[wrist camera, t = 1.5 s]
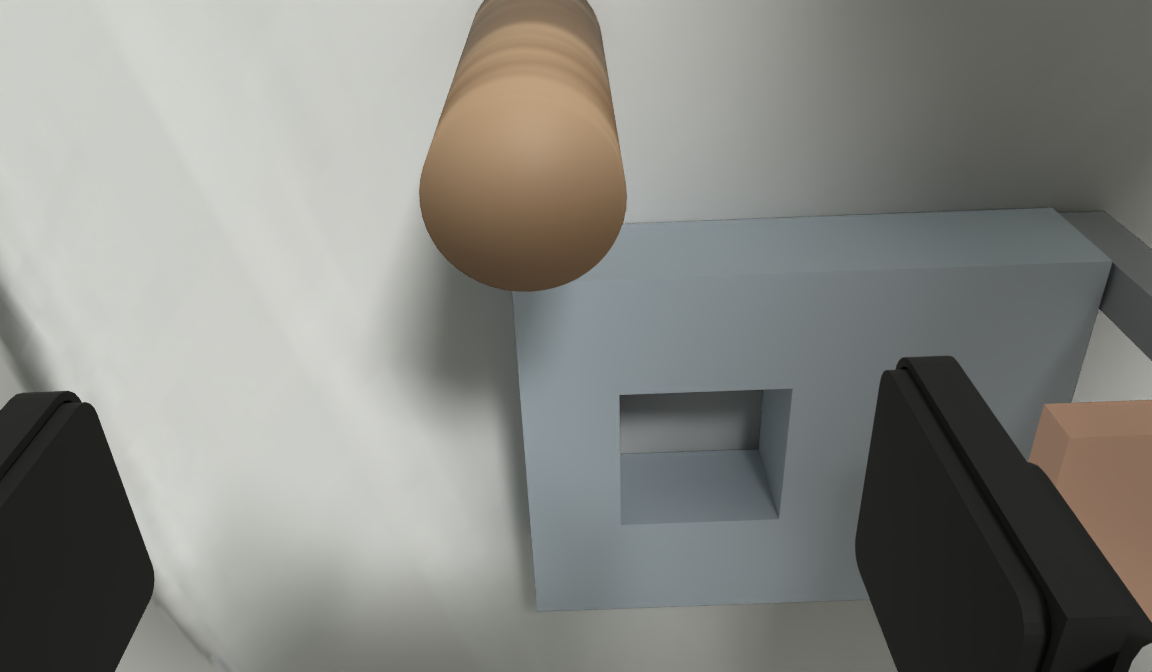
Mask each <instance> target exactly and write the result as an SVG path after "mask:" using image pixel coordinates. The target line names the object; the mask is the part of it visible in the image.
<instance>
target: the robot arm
mask: <svg viewBox="0 0 1152 672" xmlns="http://www.w3.org/2000/svg"><path fill="white" fill-rule="evenodd" d="M855 555H856V561H857V566H858V569H859V572H860V575H861V578H862V580H863V583H864V585H865V588H866V591H867V593H868V596H869V598H870V601H871V603H872V606H873V609H874V611H875V614H876V616H877V619H878V622H879V624H880V627H881V629H882V632H883V635H884V637H885V640H886V642H887V645H888V648H889V650H890V653H891V655H892V658H893V660H894V663H895V666H896V668H897V671H898V672H1152V622H1151V621H1150V619H1149V618H1148V617H1147V615H1146V614H1145V612H1144V611H1143V609H1142V608H1141V607H1140V605H1139V604H1138V602H1137V601H1136V600H1135V598H1134V597H1133V595H1132V594H1131V593H1130V591H1129V590H1128V588H1127V587H1126V586H1125V584H1124V583H1123V581H1122V580H1121V579H1120V577H1119V576H1118V574H1117V573H1116V571H1115V570H1114V569H1113V567H1112V566H1111V564H1110V563H1109V562H1108V560H1107V559H1106V557H1105V556H1104V555H1103V553H1102V552H1101V550H1100V549H1099V548H1098V546H1097V545H1096V543H1095V542H1094V541H1093V539H1092V538H1091V536H1090V535H1089V533H1088V532H1087V531H1086V529H1085V528H1084V526H1083V525H1082V524H1081V522H1080V521H1079V519H1078V518H1077V517H1076V515H1075V514H1074V512H1073V511H1072V510H1071V508H1070V507H1069V505H1068V504H1067V502H1066V501H1065V500H1064V498H1063V497H1062V495H1061V494H1060V493H1059V491H1058V490H1057V488H1056V487H1055V486H1054V484H1053V483H1052V481H1051V480H1050V479H1049V477H1048V476H1047V474H1046V473H1045V472H1044V471H1043V470H1042V469H1041V468H1040V467H1039V466H1038V465H1035V464H1033V463H1030V462H1027V461H1026V459H1025V458H1024V457H1023V455H1022V454H1021V452H1020V451H1019V449H1018V448H1017V446H1016V445H1015V444H1014V442H1013V441H1012V439H1011V438H1010V436H1009V435H1008V434H1007V432H1006V431H1005V429H1004V428H1003V426H1002V425H1001V423H1000V422H999V421H998V419H997V418H996V416H995V415H994V413H993V412H992V411H991V409H990V408H989V406H988V405H987V403H986V402H985V400H984V399H983V398H982V396H981V395H980V393H979V392H978V390H977V389H976V387H975V386H974V385H973V383H972V382H971V380H970V379H969V377H968V376H967V375H966V373H965V372H964V370H963V369H962V367H961V366H960V364H959V363H958V362H957V360H956V359H955V358H954V357H953V356H948V355H946V356H921V357H903V358H901V359H900V360H899V361H898V363H897V365H896V369H895V370H885V371H884V372H883V374H882V376H881V380H880V384H879V391H878V397H877V404H876V410H875V416H874V423H873V429H872V435H871V442H870V448H869V454H868V461H867V467H866V473H865V480H864V486H863V492H862V499H861V505H860V512H859V518H858V524H857V531H856V537H855ZM153 588H154V570H153V566H152V563H151V561H150V558H149V555H148V552H147V550H146V547H145V544H144V541H143V539H142V536H141V533H140V530H139V528H138V525H137V522H136V519H135V517H134V514H133V511H132V508H131V506H130V503H129V500H128V497H127V495H126V492H125V489H124V486H123V484H122V481H121V478H120V475H119V473H118V470H117V467H116V464H115V462H114V459H113V456H112V453H111V451H110V448H109V445H108V442H107V440H106V437H105V434H104V431H103V429H102V426H101V423H100V420H99V418H98V415H97V413H96V411H95V409H94V407H93V406H92V405H91V404H89V403H86V402H83V403H82V402H81V400H80V398H79V397H78V396H77V395H76V394H75V393H73V392H70V391H55V392H30V393H20V394H16V395H15V396H14V397H13V398H11V399H10V400H9V401H8V402H7V404H6V405H5V406H4V407H3V408H2V409H1V410H0V672H115V670H116V668H117V666H118V664H119V662H120V660H121V658H122V656H123V654H124V652H125V650H126V648H127V646H128V644H129V642H130V639H131V637H132V635H133V633H134V631H135V629H136V627H137V625H138V623H139V621H140V619H141V617H142V615H143V613H144V611H145V609H146V607H147V605H148V603H149V601H150V599H151V596H152V593H153Z"/></svg>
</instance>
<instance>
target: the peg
mask: <svg viewBox="0 0 1152 672" xmlns="http://www.w3.org/2000/svg"><path fill="white" fill-rule="evenodd" d="M419 196H420V207H421V212H422V217H423V220H424V223H425V226H426V229H427V231H428V233H429V235H430V237H431V239H432V241H433V242H434V244H435V245H436V246H437V248H438V249H439V251H440V252H441V253H442V254H443V255H444V257H445V258H446V259H447V260H448V261H449V262H450V263H451V264H453V265H454V266H455V267H456V268H457V269H458V270H460V271H461V272H463V273H464V274H466V275H467V276H469V277H471V278H473V279H475V280H477V281H478V282H481V283H483V284H486V285H488V286H491V287H495V288H499V289H503V290H509V291H516V292H533V291H543V290H547V289H552V288H556V287H559V286H562V285H565V284H567V283H569V282H571V281H573V280H576V279H578V278H579V277H581V276H582V275H584V274H585V273H587V272H589V271H590V270H591V269H592V268H593V267H594V266H596V265H597V264H598V263H599V262H600V261H601V260H602V259H603V258H604V256H605V255H606V254H607V253H608V251H609V250H610V249H611V247H612V246H613V244H614V242H615V240H616V239H617V237H618V235H619V233H620V230H621V227H622V224H623V221H624V216H625V211H626V200H627V194H626V183H625V177H624V171H623V164H622V158H621V152H620V146H619V140H618V134H617V128H616V121H615V115H614V109H613V103H612V97H611V91H610V85H609V78H608V72H607V66H606V60H605V54H604V48H603V42H602V35H601V30H600V26H599V23H598V20H597V17H596V15H595V13H594V11H593V9H592V8H591V6H590V5H589V3H588V2H587V1H586V0H484V2H483V3H482V4H481V6H480V7H479V9H478V11H477V13H476V15H475V18H474V20H473V23H472V26H471V29H470V32H469V35H468V38H467V41H466V44H465V46H464V49H463V52H462V55H461V58H460V61H459V64H458V67H457V70H456V73H455V76H454V79H453V81H452V84H451V87H450V90H449V93H448V96H447V99H446V102H445V105H444V108H443V111H442V113H441V116H440V119H439V122H438V125H437V128H436V131H435V134H434V137H433V140H432V143H431V146H430V148H429V151H428V154H427V157H426V160H425V163H424V166H423V170H422V174H421V179H420V189H419Z"/></svg>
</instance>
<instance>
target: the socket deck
mask: <svg viewBox="0 0 1152 672" xmlns="http://www.w3.org/2000/svg"><path fill="white" fill-rule="evenodd" d="M512 300H513V312H514V325H515V338H516V350H517V363H518V376H519V388H520V401H521V413H522V426H523V439H524V451H525V464H526V477H527V489H528V502H529V515H530V527H531V540H532V552H533V565H534V578H535V590H536V603H537V612H541V611H568V610H596V609H624V608H652V607H680V606H707V605H735V604H763V603H791V602H819V601H846V600H870V598H869V596H868V593H867V591H866V588H865V585H864V583H863V580H862V578H861V575H860V572H859V569H858V566H857V561H856V555H855V537H856V531H857V524H858V518H859V512H860V505H861V499H862V492H863V486H864V480H865V473H866V467H867V461H868V454H869V448H870V442H871V435H872V429H873V423H874V416H875V410H876V404H877V397H878V391H879V384H880V380H881V376H882V374H883V372H884V371H885V370H895V369H896V365H897V363H898V361H899V360H900V359H901V358H903V357H921V356H946V355H948V356H953V357H954V358H955V359H956V360H957V362H958V363H959V364H960V366H961V367H962V369H963V370H964V372H965V373H966V375H967V376H968V377H969V379H970V380H971V382H972V383H973V385H974V386H975V387H976V389H977V390H978V392H979V393H980V395H981V396H982V398H983V399H984V400H985V402H986V403H987V405H988V406H989V408H990V409H991V411H992V412H993V413H994V415H995V416H996V418H997V419H998V421H999V422H1000V423H1001V425H1002V426H1003V428H1004V429H1005V431H1006V432H1007V434H1008V435H1009V436H1010V438H1011V439H1012V441H1013V442H1014V444H1015V445H1016V446H1017V448H1018V449H1019V451H1020V452H1021V454H1022V455H1023V457H1024V458H1025V459H1026V461H1027V462H1030V463H1033V464H1035V465H1038V466H1039V467H1040V468H1041V469H1042V470H1043V471H1044V472H1045V473H1046V474H1047V476H1048V477H1049V479H1050V480H1051V481H1052V483H1053V484H1054V486H1055V487H1056V488H1057V490H1058V491H1059V493H1060V494H1061V495H1062V497H1063V498H1064V500H1065V501H1066V502H1067V504H1068V505H1069V507H1070V508H1071V510H1072V511H1073V512H1074V514H1075V515H1076V517H1077V518H1078V519H1079V521H1080V522H1081V524H1082V525H1083V526H1084V528H1085V529H1086V531H1087V532H1088V533H1089V535H1090V536H1091V538H1092V539H1093V541H1094V542H1095V543H1096V545H1097V546H1098V548H1099V549H1100V550H1101V552H1102V553H1103V555H1104V556H1105V557H1106V559H1107V560H1108V562H1109V563H1110V564H1111V566H1112V567H1113V569H1114V570H1115V571H1116V573H1117V574H1118V576H1119V577H1120V579H1121V580H1122V581H1123V583H1124V584H1125V586H1126V587H1127V588H1128V590H1129V591H1130V593H1131V594H1132V595H1133V597H1134V598H1135V600H1136V601H1137V602H1138V604H1139V605H1140V607H1141V608H1142V609H1143V611H1144V612H1145V614H1146V615H1147V617H1148V618H1149V619H1150V621H1151V622H1152V400H1137V401H1110V402H1083V403H1071V401H1072V398H1073V394H1074V391H1075V388H1076V384H1077V381H1078V377H1079V374H1080V371H1081V367H1082V364H1083V360H1084V357H1085V354H1086V350H1087V347H1088V343H1089V340H1090V337H1091V333H1092V330H1093V326H1094V323H1095V320H1096V316H1097V313H1098V309H1100V310H1101V311H1102V312H1103V313H1104V314H1105V315H1106V316H1107V317H1108V318H1109V319H1110V320H1111V321H1112V322H1113V323H1114V324H1115V325H1116V326H1117V327H1118V328H1119V329H1120V330H1121V331H1122V332H1123V333H1124V334H1125V335H1126V336H1127V337H1128V338H1129V339H1130V340H1131V341H1132V342H1133V343H1134V344H1135V345H1136V346H1137V347H1138V348H1139V349H1140V350H1141V351H1142V352H1143V353H1144V354H1145V355H1146V356H1148V357H1149V358H1150V359H1151V360H1152V249H1151V248H1150V247H1148V246H1147V245H1146V244H1145V243H1143V242H1142V241H1141V240H1140V239H1138V238H1137V237H1136V236H1135V235H1133V234H1132V233H1131V232H1130V231H1128V230H1127V229H1126V228H1125V227H1123V226H1122V225H1121V224H1120V223H1118V222H1117V221H1116V220H1115V219H1114V218H1112V217H1111V216H1110V215H1109V214H1107V213H1106V212H1105V211H1094V212H1068V213H1058V212H1057V211H1055V210H1054V209H1053V208H1029V209H1003V210H977V211H950V212H924V213H897V214H871V215H844V216H818V217H791V218H765V219H738V220H712V221H685V222H659V223H632V224H622V227H621V230H620V233H619V235H618V237H617V239H616V240H615V242H614V244H613V246H612V247H611V249H610V250H609V251H608V253H607V254H606V255H605V256H604V258H603V259H602V260H601V261H600V262H599V263H598V264H597V265H596V266H594V267H593V268H592V269H591V270H590V271H589V272H587V273H585V274H584V275H582V276H581V277H579V278H578V279H576V280H573V281H571V282H569V283H567V284H565V285H562V286H559V287H556V288H552V289H547V290H543V291H533V292H516V291H512ZM739 390H763V402H762V413H761V425H760V437H759V449H747V450H720V451H692V452H665V453H638V454H620V410H619V395H630V394H657V393H685V392H712V391H739Z"/></svg>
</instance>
